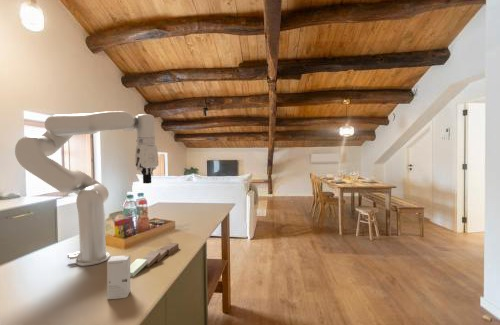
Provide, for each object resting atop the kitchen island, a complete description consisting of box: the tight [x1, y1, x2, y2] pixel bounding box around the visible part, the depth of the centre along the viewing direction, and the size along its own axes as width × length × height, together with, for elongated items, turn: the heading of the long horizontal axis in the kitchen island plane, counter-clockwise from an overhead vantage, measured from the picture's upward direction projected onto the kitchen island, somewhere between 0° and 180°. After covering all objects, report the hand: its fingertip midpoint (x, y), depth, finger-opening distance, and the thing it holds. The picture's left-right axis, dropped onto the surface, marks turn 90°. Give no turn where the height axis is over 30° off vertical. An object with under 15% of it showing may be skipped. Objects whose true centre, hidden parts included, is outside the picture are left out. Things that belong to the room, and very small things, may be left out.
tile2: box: [154, 248, 168, 263], centre depth 112 cm, size 2×5×8 cm
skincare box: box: [106, 254, 131, 300], centre depth 83 cm, size 6×4×12 cm
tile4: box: [165, 246, 180, 256], centre depth 120 cm, size 2×5×8 cm
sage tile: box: [130, 258, 148, 278], centre depth 100 cm, size 2×5×8 cm
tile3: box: [159, 242, 179, 253], centre depth 120 cm, size 2×5×8 cm
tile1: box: [142, 250, 161, 269], centre depth 106 cm, size 2×5×8 cm
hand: (147, 183), depth 116 cm, fingers closed
